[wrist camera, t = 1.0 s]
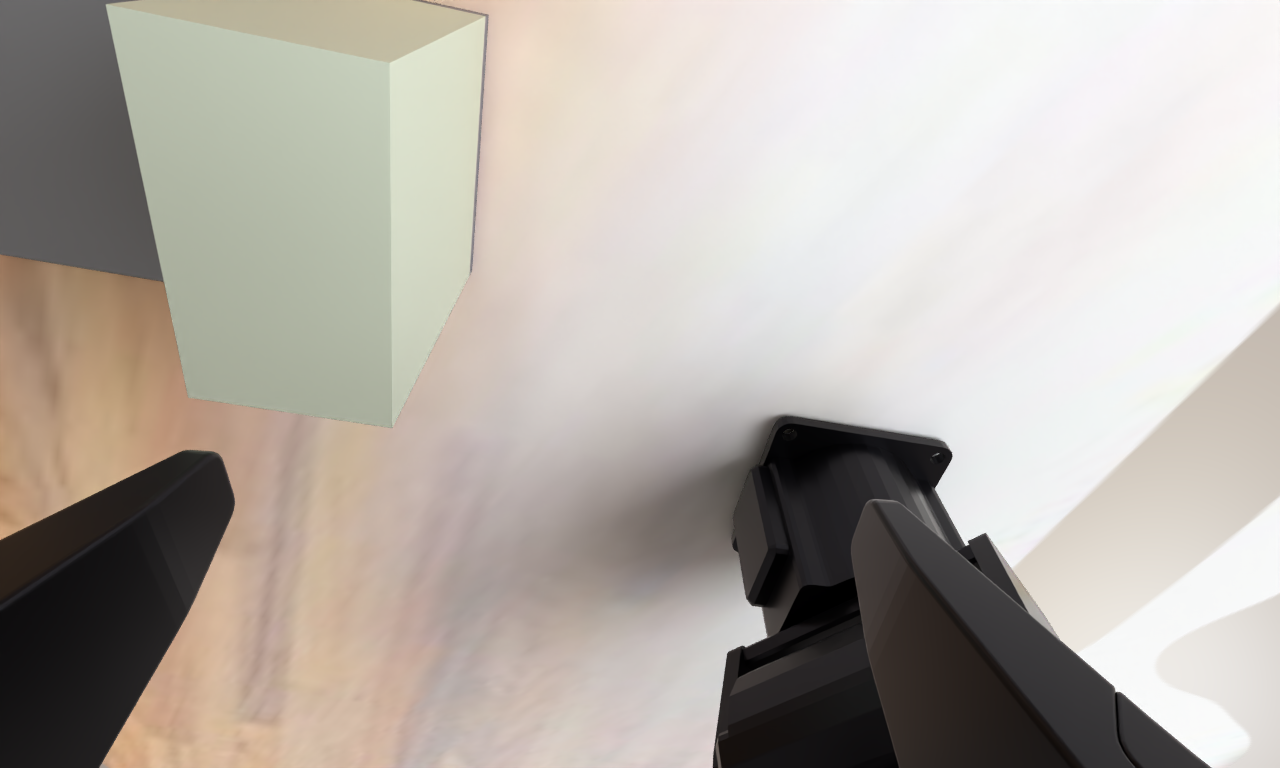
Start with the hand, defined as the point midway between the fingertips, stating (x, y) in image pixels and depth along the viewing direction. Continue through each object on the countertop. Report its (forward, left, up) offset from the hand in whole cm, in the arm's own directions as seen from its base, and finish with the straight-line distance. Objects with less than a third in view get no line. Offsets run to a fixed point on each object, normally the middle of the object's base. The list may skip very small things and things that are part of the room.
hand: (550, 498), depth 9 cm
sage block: (+5, -1, -12) cm, 13 cm away
